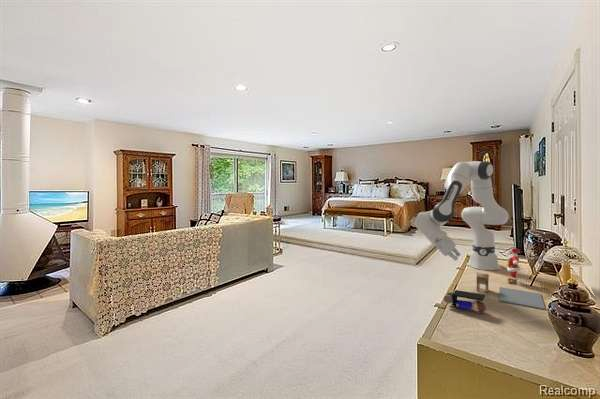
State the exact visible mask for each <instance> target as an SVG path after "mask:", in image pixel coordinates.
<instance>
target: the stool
mask: <svg viewBox="0 0 600 399" xmlns="http://www.w3.org/2000/svg"><path fill="white" fill-rule="evenodd" d="M489 277H490V274H489V273H486V272H480V271H478V272H476V291H477V292H480V290H481V289H480V286H481V285H484V286H485V293H487V294H488V293H489Z"/></svg>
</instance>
